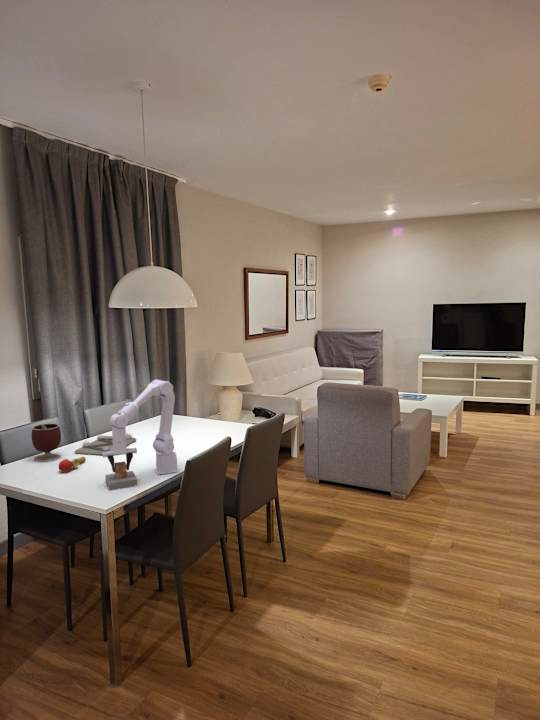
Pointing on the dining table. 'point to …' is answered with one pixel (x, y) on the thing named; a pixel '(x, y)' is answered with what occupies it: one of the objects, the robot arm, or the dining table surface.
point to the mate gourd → (46, 441)
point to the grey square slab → (121, 481)
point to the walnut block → (120, 470)
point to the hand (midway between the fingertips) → (120, 470)
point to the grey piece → (101, 445)
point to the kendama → (70, 464)
